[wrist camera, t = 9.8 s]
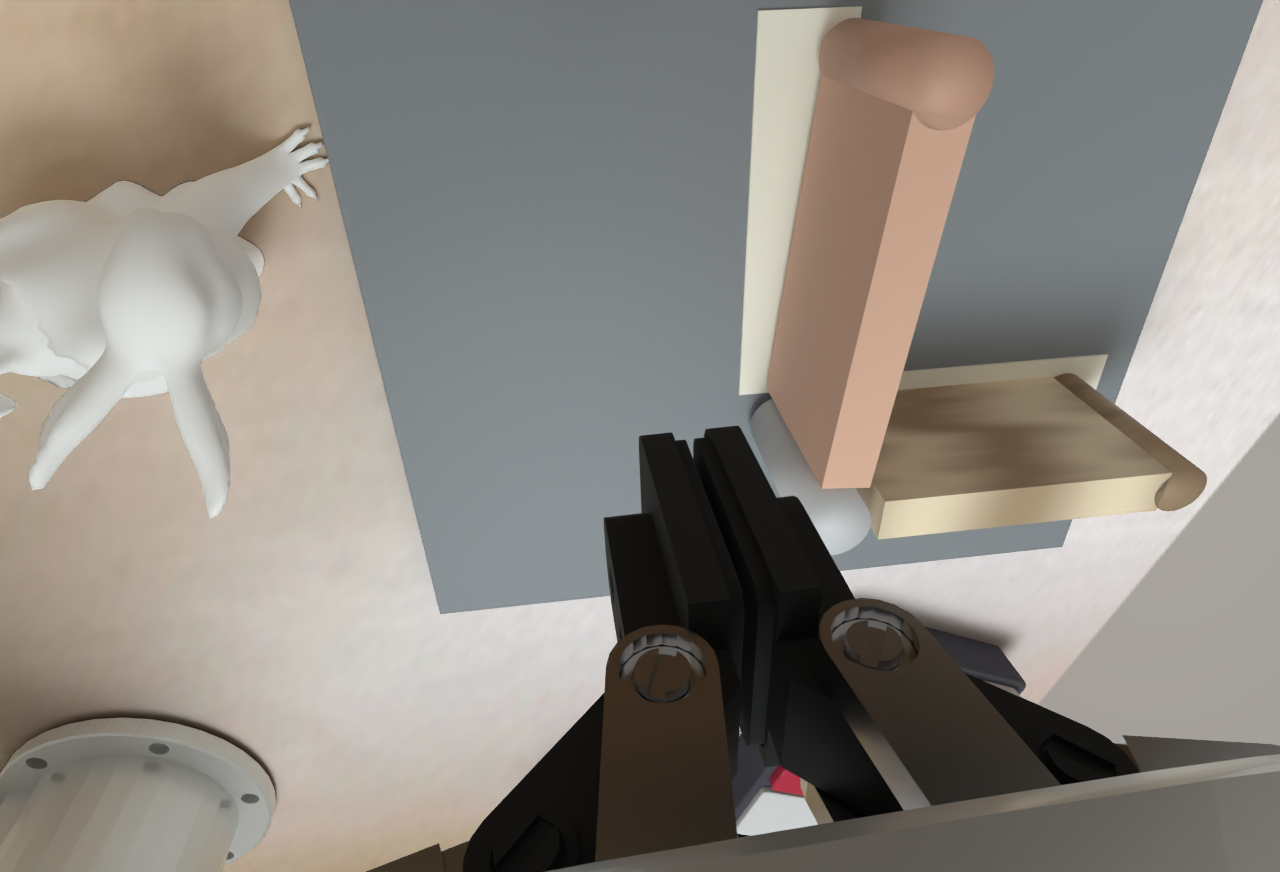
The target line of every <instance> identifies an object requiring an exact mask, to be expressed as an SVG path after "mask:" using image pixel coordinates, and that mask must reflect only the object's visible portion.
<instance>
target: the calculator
mask: <svg viewBox="0 0 1280 872" xmlns="http://www.w3.org/2000/svg"><path fill="white" fill-rule="evenodd" d="M925 628H926V629H927V630H928V631H929V632H930V633H931V635H932V636H933V637H934V638H935V639H936V640H937V642H938V643H939V644H940V645H941V646H942V647H943V649H944V650H945V651H946V652H947V653H948V654H949V655H950V657H951V658H952V659H953V660H954V661H955V662H956V664H957V665H958V666H959V667H960V668H961V669H962V671H963V672H965V673H967V674H969V675H971V676H974V677H976V678H978V679H981V680H983V681H985V682H987V683H990V684H992V685H994V686H996V687H999V688H1001V689H1003V690H1005V691H1008V692H1010V693H1012V694H1014V695H1017V696H1019V697H1021V696H1020V693H1021V692H1022V691H1023V690H1024V689H1025V686H1026V683H1025V682H1024V680H1023V679H1022V677H1021V676H1020V675H1019V673H1018V672H1017V671H1016V669H1015V668H1014V667H1013V665H1012V664H1011V663H1010V661H1009V660H1008V659H1007V657H1006V656H1005V655H1004V653H1003V652H1002V651H1001V650H1000V648H999V647H998V646H995V645H991V644H988V643H984V642H980V641H976V640H973V639H969V638H965V637H961V636H958V635H954V634H950V633H946V632H942V631H939V630H935V629H931V628H927V627H925ZM731 782H732V791H733V800H734V809H735V819H736V828H737V833H738V834H744V835H751V836H753V835H759V834H765V833H771V832H777V831H783V830H789V829H795V828H801V827H807V826H813V825H818V823H817V821H816V819H815V818H814V816H813V814H812V812H811V810H810V808H809V806H808V804H807V802H806V801H805V798H804V795H803V792H802V789H801V787H800V777H798V776H796V775H795V774H793V773H791V772H789V771H788V770H786V769H784V768H782V767H781V765H778V766H771V767H765V766H764V763H763V759H762V756H761V753H760V750H759V747H758V745H754V746H747V745H746V744H745V741H744V739H743V736H742V735H741V736H740V737H739V743H738V761H737V774H736V776H735V777H734V778H733V780H732V781H731Z"/></svg>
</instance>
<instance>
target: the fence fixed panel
mask: <svg viewBox="0 0 1280 872" xmlns="http://www.w3.org/2000/svg"><path fill="white" fill-rule="evenodd" d="M1206 483H1207V477H1206V474H1205V473H1204V472H1203V471H1202V470H1200V469H1199V468H1198V467H1196V466H1195V465H1194V464H1192V463H1191V462H1190V461H1189V460H1187V459H1186V458H1185V457H1183V456H1182V455H1181V454H1179V453H1178V452H1177V451H1175V450H1174V449H1173V448H1171V447H1170V446H1169V445H1168V444H1166V443H1165V442H1164V441H1162V440H1161V439H1160V438H1158V437H1157V436H1156V435H1154V434H1153V433H1152V432H1150V431H1149V430H1148V429H1146V428H1145V427H1144V426H1143V425H1141V424H1140V423H1139V422H1137V421H1136V420H1135V419H1133V418H1132V417H1131V416H1129V415H1128V414H1127V413H1125V412H1124V411H1123V410H1122V409H1120V408H1119V407H1118V406H1116V405H1115V404H1114V403H1112V402H1111V401H1110V400H1108V399H1107V398H1106V397H1104V396H1103V395H1102V394H1101V393H1099V392H1098V391H1097V390H1095V389H1094V388H1093V387H1091V386H1090V385H1089V384H1087V383H1086V382H1085V381H1083V380H1082V379H1081V378H1079V377H1078V376H1077V375H1075V374H1072V373H1065V374H1061V375H1058V376H1056V377H1054V378H1053V377H1042V378H1031V379H1019V380H1008V381H996V382H985V383H973V384H962V385H951V386H939V387H928V388H916V389H905V390H898V391H897V394H896V398H895V401H894V405H893V408H892V412H891V415H890V419H889V422H888V426H887V429H886V433H885V437H884V440H883V444H882V447H881V451H880V454H879V458H878V461H877V465H876V468H875V472H874V475H873V479H872V482H871V486H870V488H855V489H856V490H857V492H858V494H859V495H860V497H861V498H862V500H863V502H864V503H865V505H866V507H867V508H868V510H869V512H870V515H871V526H870V527H871V529H872V530H873V532H874V534H875V535H876V537H877V539H878V540H879V539H888V538H898V537H907V536H917V535H926V534H936V533H945V532H955V531H964V530H974V529H983V528H993V527H1002V526H1012V525H1021V524H1031V523H1040V522H1050V521H1059V520H1069V519H1078V518H1088V517H1098V516H1107V515H1117V514H1126V513H1136V512H1145V511H1155V510H1156V509H1157V508H1159V509H1160V510H1163V511H1174V510H1178V509H1181V508H1183V507H1185V506H1187V505H1189V504H1190V503H1192V502H1193V501H1194V500H1196V499H1197V498H1198V497H1199V496H1200V494H1201V493H1202V492H1203V490H1204V488H1205V486H1206Z"/></svg>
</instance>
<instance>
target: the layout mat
mask: <svg viewBox="0 0 1280 872" xmlns="http://www.w3.org/2000/svg"><path fill="white" fill-rule="evenodd" d="M289 1H290V6H291V10H292V14H293V18H294V22H295V26H296V30H297V34H298V38H299V42H300V46H301V50H302V54H303V58H304V62H305V66H306V71H307V75H308V79H309V83H310V87H311V91H312V95H313V99H314V103H315V107H316V111H317V115H318V119H319V123H320V127H321V131H322V136H323V140H324V144H325V148H326V152H327V156H328V160H329V164H330V168H331V172H332V176H333V180H334V184H335V188H336V192H337V196H338V201H339V205H340V209H341V213H342V217H343V221H344V225H345V229H346V233H347V237H348V241H349V245H350V249H351V253H352V257H353V261H354V265H355V270H356V274H357V278H358V282H359V286H360V290H361V294H362V298H363V302H364V306H365V310H366V314H367V318H368V322H369V326H370V330H371V335H372V339H373V343H374V347H375V351H376V355H377V359H378V363H379V367H380V371H381V375H382V379H383V383H384V387H385V391H386V395H387V400H388V404H389V408H390V412H391V416H392V420H393V424H394V428H395V432H396V436H397V440H398V444H399V448H400V452H401V456H402V460H403V464H404V469H405V473H406V477H407V481H408V485H409V489H410V493H411V497H412V501H413V505H414V509H415V513H416V517H417V521H418V525H419V529H420V534H421V538H422V542H423V546H424V550H425V554H426V558H427V562H428V566H429V570H430V574H431V578H432V582H433V586H434V590H435V594H436V599H437V603H438V607H439V611H440V614H445V613H455V612H464V611H473V610H482V609H492V608H501V607H510V606H519V605H528V604H538V603H547V602H556V601H565V600H575V599H584V598H593V597H602V596H610V589H609V580H608V571H607V561H606V549H605V536H604V517H613V516H622V515H630V514H639V513H641V488H640V464H639V436H641V435H651V434H661V433H670V432H671V433H673V435H674V438H675V441H676V440H686V442H687V444H688V447H689V449H690V452H691V455H692V457H693V442H694V439H695V438H704V433H705V430H706V429H708V428H718V427H728V426H739V427H740V428H741V430H742V432H743V434H744V435H745V437H746V439H747V441H748V443H749V445H750V447H751V449H752V451H753V453H754V455H755V457H756V459H757V461H758V463H759V465H760V467H761V469H762V470H763V472H764V474H765V476H766V478H767V480H768V482H769V484H770V486H771V488H772V490H773V492H774V494H775V496H776V498H777V497H780V495H779V493H778V491H777V489H776V486H775V484H774V482H773V480H772V478H771V476H770V473H769V471H768V469H767V467H766V465H765V463H764V460H763V458H762V456H761V454H760V452H759V450H758V447H757V445H756V443H755V441H754V439H753V437H752V434H751V431H750V423H751V419H752V416H753V415H754V413H755V411H756V410H757V409H758V408H759V407H760V406H761V405H762V404H764V403H765V402H767V401H769V400H771V399H772V397H771V395H770V394H769V392H768V390H767V388H766V387H767V381H768V375H769V370H770V364H771V358H772V353H773V347H774V342H775V336H776V330H777V325H778V319H779V313H780V308H781V302H782V296H783V291H784V285H785V279H786V274H787V268H788V262H789V257H790V251H791V245H792V240H793V234H794V229H795V223H796V217H797V212H798V206H799V200H800V195H801V189H802V183H803V178H804V172H805V166H806V161H807V155H808V149H809V144H810V138H811V132H812V127H813V121H814V115H815V110H816V104H817V99H818V93H819V87H820V82H821V76H822V75H821V72H820V68H819V52H820V48H821V45H822V42H823V40H824V38H825V37H826V35H827V34H828V32H829V31H830V30H831V29H832V28H833V27H834V26H835V25H837V24H838V23H840V22H841V21H843V20H846V19H849V18H863V19H868V20H874V21H880V22H886V23H892V24H897V25H903V26H909V27H915V28H921V29H926V30H932V31H938V32H944V33H950V34H955V35H961V36H967V37H972V38H975V39H977V40H978V41H980V42H981V43H983V44H984V45H985V46H986V48H987V49H988V51H989V52H990V54H991V57H992V60H993V64H994V80H993V85H992V88H991V91H990V94H989V96H988V98H987V100H986V102H985V104H984V105H983V107H982V108H981V109H980V111H979V112H978V113H977V114H976V117H975V120H974V124H973V127H972V131H971V134H970V138H969V141H968V145H967V148H966V152H965V155H964V159H963V162H962V166H961V169H960V173H959V176H958V180H957V183H956V187H955V190H954V194H953V197H952V201H951V204H950V208H949V212H948V215H947V219H946V222H945V226H944V229H943V233H942V236H941V240H940V243H939V247H938V250H937V254H936V257H935V261H934V264H933V268H932V271H931V275H930V278H929V282H928V285H927V289H926V292H925V296H924V299H923V303H922V306H921V310H920V313H919V317H918V320H917V324H916V328H915V331H914V335H913V338H912V342H911V345H910V349H909V352H908V356H907V359H906V363H905V366H904V370H903V373H902V377H901V380H900V384H899V387H898V390H905V389H916V388H928V387H939V386H951V385H962V384H973V383H985V382H996V381H1008V380H1019V379H1031V378H1042V377H1053V378H1054V377H1056V376H1058V375H1061V374H1065V373H1072V374H1075V375H1077V376H1078V377H1079V378H1081V379H1082V380H1083V381H1085V382H1086V383H1087V384H1089V385H1090V386H1091V387H1093V388H1094V389H1095V390H1097V391H1098V392H1099V393H1101V394H1102V395H1103V396H1104V397H1106V398H1107V399H1108V400H1110V401H1111V402H1112V403H1114V404H1115V402H1116V399H1117V396H1118V394H1119V391H1120V388H1121V385H1122V383H1123V380H1124V377H1125V374H1126V372H1127V369H1128V366H1129V364H1130V361H1131V358H1132V355H1133V353H1134V350H1135V347H1136V345H1137V342H1138V339H1139V336H1140V334H1141V331H1142V328H1143V326H1144V323H1145V320H1146V317H1147V315H1148V312H1149V309H1150V306H1151V304H1152V301H1153V298H1154V296H1155V293H1156V290H1157V287H1158V285H1159V282H1160V279H1161V277H1162V274H1163V271H1164V268H1165V266H1166V263H1167V260H1168V258H1169V255H1170V252H1171V249H1172V247H1173V244H1174V241H1175V238H1176V236H1177V233H1178V230H1179V228H1180V225H1181V222H1182V219H1183V217H1184V214H1185V211H1186V209H1187V206H1188V203H1189V200H1190V198H1191V195H1192V192H1193V190H1194V187H1195V184H1196V181H1197V179H1198V176H1199V173H1200V170H1201V168H1202V165H1203V162H1204V160H1205V157H1206V154H1207V151H1208V149H1209V146H1210V143H1211V141H1212V138H1213V135H1214V132H1215V130H1216V127H1217V124H1218V121H1219V119H1220V116H1221V113H1222V111H1223V108H1224V105H1225V102H1226V100H1227V97H1228V94H1229V92H1230V89H1231V86H1232V83H1233V81H1234V78H1235V75H1236V73H1237V70H1238V67H1239V64H1240V62H1241V59H1242V56H1243V53H1244V51H1245V48H1246V45H1247V43H1248V40H1249V37H1250V34H1251V32H1252V29H1253V26H1254V24H1255V21H1256V18H1257V15H1258V13H1259V10H1260V7H1261V5H1262V2H1263V0H289ZM1071 521H1072V519H1069V520H1059V521H1050V522H1040V523H1031V524H1021V525H1012V526H1002V527H993V528H983V529H974V530H964V531H955V532H945V533H936V534H926V535H917V536H907V537H898V538H888V539H879V540H878V539H877V537H876V535H875V534H874V532H873V530H872V529H871V527H870V529H869V531H868V533H867V535H866V536H865V538H864V539H863V540H862V541H861V542H860V543H859V544H858V545H856V546H855V547H853V548H852V549H850V550H848V551H846V552H844V553H841V554H837V555H831V557H832V558H833V560H834V562H835V564H836V566H837V567H838V569H839V571H843V570H852V569H861V568H870V567H879V566H889V565H898V564H907V563H916V562H926V561H935V560H944V559H953V558H963V557H972V556H981V555H990V554H1000V553H1009V552H1018V551H1027V550H1036V549H1046V548H1055V547H1062V546H1063V543H1064V540H1065V538H1066V535H1067V532H1068V530H1069V527H1070V524H1071Z"/></svg>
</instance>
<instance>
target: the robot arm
mask: <svg viewBox="0 0 1280 872" xmlns="http://www.w3.org/2000/svg"><path fill="white" fill-rule="evenodd" d="M639 464H640V488H641V513H639V514H630V515H622V516H613V517H604V536H605V549H606V561H607V571H608V580H609V589H610V596H611V603H612V610H613V616H614V622H615V629H616V635H617V644H616V645H615V647H614V648H613V649H612V651H611V652H610V654H609V658H608V662H607V665H606V677H605V693H604V694H603V695H602V696H601V697H600V698H599V699H598V700H597V701H596V702H595V703H594V704H593V705H592V706H591V707H590V708H589V710H588V711H587V712H586V713H585V714H584V715H583V716H582V717H581V718H580V719H579V720H578V721H577V722H576V723H575V724H574V725H573V726H572V728H571V729H570V730H569V731H568V732H567V733H566V734H565V735H564V736H563V737H562V738H561V739H560V740H559V741H558V742H557V743H556V744H555V746H554V747H553V748H552V749H551V750H550V751H549V752H548V753H547V754H546V755H545V756H544V757H543V758H542V759H541V760H540V761H539V762H538V763H537V765H536V766H535V767H534V768H533V769H532V770H531V771H530V772H529V773H528V774H527V775H526V776H525V777H524V778H523V779H522V780H521V781H520V783H519V784H518V785H517V786H516V787H515V788H514V789H513V790H512V791H511V792H510V793H509V794H508V795H507V796H506V797H505V798H504V799H503V801H502V802H501V803H500V804H499V805H498V806H497V807H496V808H495V809H494V810H493V811H492V812H491V813H490V814H489V815H488V816H487V817H486V819H485V820H484V821H483V822H482V823H481V825H480V826H479V827H478V829H477V830H476V832H475V833H474V834H473V836H472V837H471V839H470V841H467V842H465V843H462V844H459V845H457V846H454V847H452V848H449V849H447V850H444V851H441V848H440V845H439V843H438V844H436V845H433V846H431V847H428V848H426V849H423V850H420V851H418V852H415V853H413V854H410V855H408V856H405V857H402V858H400V859H397V860H395V861H392V862H390V863H387V864H384V865H382V866H379V867H377V868H374V869H372V870H369V871H366V872H1280V746H1277V745H1272V744H1258V743H1242V742H1224V741H1209V740H1193V739H1176V738H1159V737H1143V736H1126V735H1125V736H1124V735H1122V737H1121V739H1120V741H1119V743H1118V744H1115V743H1112V741H1110V740H1109V739H1108V738H1106V737H1105V736H1103V735H1101V734H1100V733H1098V732H1096V731H1094V730H1092V729H1091V728H1089V727H1087V726H1085V725H1082V724H1080V723H1078V722H1076V721H1073V720H1071V719H1069V718H1066V717H1064V716H1062V715H1060V714H1057V713H1055V712H1053V711H1051V710H1048V709H1046V708H1044V707H1042V706H1039V705H1037V704H1035V703H1033V702H1030V701H1028V700H1026V699H1024V698H1021V697H1019V696H1017V695H1014V694H1012V693H1010V692H1008V691H1005V690H1003V689H1001V688H999V687H996V686H994V685H992V684H990V683H987V682H985V681H983V680H981V679H978V678H976V677H974V676H971V675H969V674H967V673H965V672H963V671H962V669H961V668H960V667H959V666H958V665H957V664H956V662H955V661H954V660H953V659H952V658H951V657H950V655H949V654H948V653H947V652H946V651H945V650H944V649H943V647H942V646H941V645H940V644H939V643H938V642H937V640H936V639H935V638H934V637H933V636H932V635H931V633H930V632H929V631H928V630H927V629H926V628H925V626H924V625H923V624H922V623H921V622H920V621H918V620H917V619H916V618H915V617H914V616H913V615H912V614H911V613H909V612H907V611H905V610H904V609H902V608H900V607H898V606H896V605H894V604H891V603H887V602H884V601H881V600H876V599H865V598H859V599H855V598H854V596H853V594H852V592H851V591H850V589H849V587H848V585H847V583H846V582H845V580H844V578H843V576H842V574H841V573H840V571H839V569H838V567H837V566H836V564H835V562H834V560H833V558H832V557H831V555H830V553H829V551H828V549H827V548H826V546H825V544H824V542H823V540H822V539H821V537H820V535H819V533H818V531H817V530H816V528H815V526H814V524H813V523H812V521H811V519H810V517H809V515H808V514H807V512H806V510H805V508H804V506H803V505H802V503H801V502H800V500H799V499H798V497H795V496H786V497H777V498H776V496H775V494H774V492H773V490H772V488H771V486H770V484H769V482H768V480H767V478H766V476H765V474H764V472H763V470H762V469H761V467H760V465H759V463H758V461H757V459H756V457H755V455H754V453H753V451H752V449H751V447H750V445H749V443H748V441H747V439H746V437H745V435H744V434H743V432H742V430H741V428H740V427H739V426H728V427H718V428H708V429H706V430H705V433H704V438H695V439H694V442H693V457H692V455H691V452H690V449H689V447H688V444H687V442H686V440H676V441H675V438H674V435H673V433H671V432H670V433H661V434H651V435H641V436H639ZM739 726H740V729H741V732H742V736H743V739H744V741H745V744H746V745H747V746H754V745H758V747H759V750H760V753H761V756H762V759H763V763H764V766H765V767H771V766H778V765H781V767H782V768H784V769H786V770H788V771H789V772H791V773H793V774H795V775H796V776H798V777H800V787H801V789H802V792H803V795H804V798H805V801H806V802H807V804H808V806H809V808H810V810H811V812H812V814H813V816H814V818H815V819H816V821H817V823H818V825H813V826H807V827H801V828H795V829H789V830H783V831H777V832H771V833H765V834H759V835H753V836H747V837H742V838H738V837H737V828H736V819H735V809H734V800H733V791H732V782H731V781H732V780H733V778H734V777H735V776H736V774H737V761H738V743H739ZM275 805H276V798H275V790H274V787H273V785H272V782H271V780H270V778H269V776H268V775H267V774H266V772H265V771H264V770H263V769H262V767H261V766H260V765H259V764H258V763H257V762H256V761H255V760H254V759H253V758H251V757H250V756H249V755H248V754H247V753H245V752H244V751H243V750H241V749H240V748H238V747H236V746H235V745H233V744H231V743H229V742H228V741H226V740H224V739H222V738H219V737H217V736H215V735H212V734H210V733H207V732H205V731H202V730H199V729H196V728H192V727H188V726H185V725H181V724H178V723H172V722H166V721H160V720H154V719H143V718H124V717H121V718H103V719H92V720H87V721H81V722H76V723H70V724H67V725H64V726H61V727H58V728H55V729H51V730H48V731H46V732H44V733H42V734H40V735H38V736H36V737H34V738H33V739H31V740H29V741H27V742H26V743H25V744H24V745H23V746H22V747H20V748H19V749H18V750H17V751H16V752H15V753H14V754H13V755H12V757H11V758H10V760H9V761H8V763H7V764H6V766H5V767H4V769H3V770H2V772H1V773H0V872H222V870H223V867H224V865H226V864H228V863H230V862H232V861H234V860H237V859H239V858H241V857H242V856H244V855H245V854H246V853H248V852H249V851H251V850H252V849H253V848H255V847H256V846H257V845H258V843H259V842H260V841H261V840H262V839H263V838H264V837H265V835H266V833H267V830H268V828H269V826H270V824H271V820H272V816H273V813H274V809H275Z"/></svg>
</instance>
